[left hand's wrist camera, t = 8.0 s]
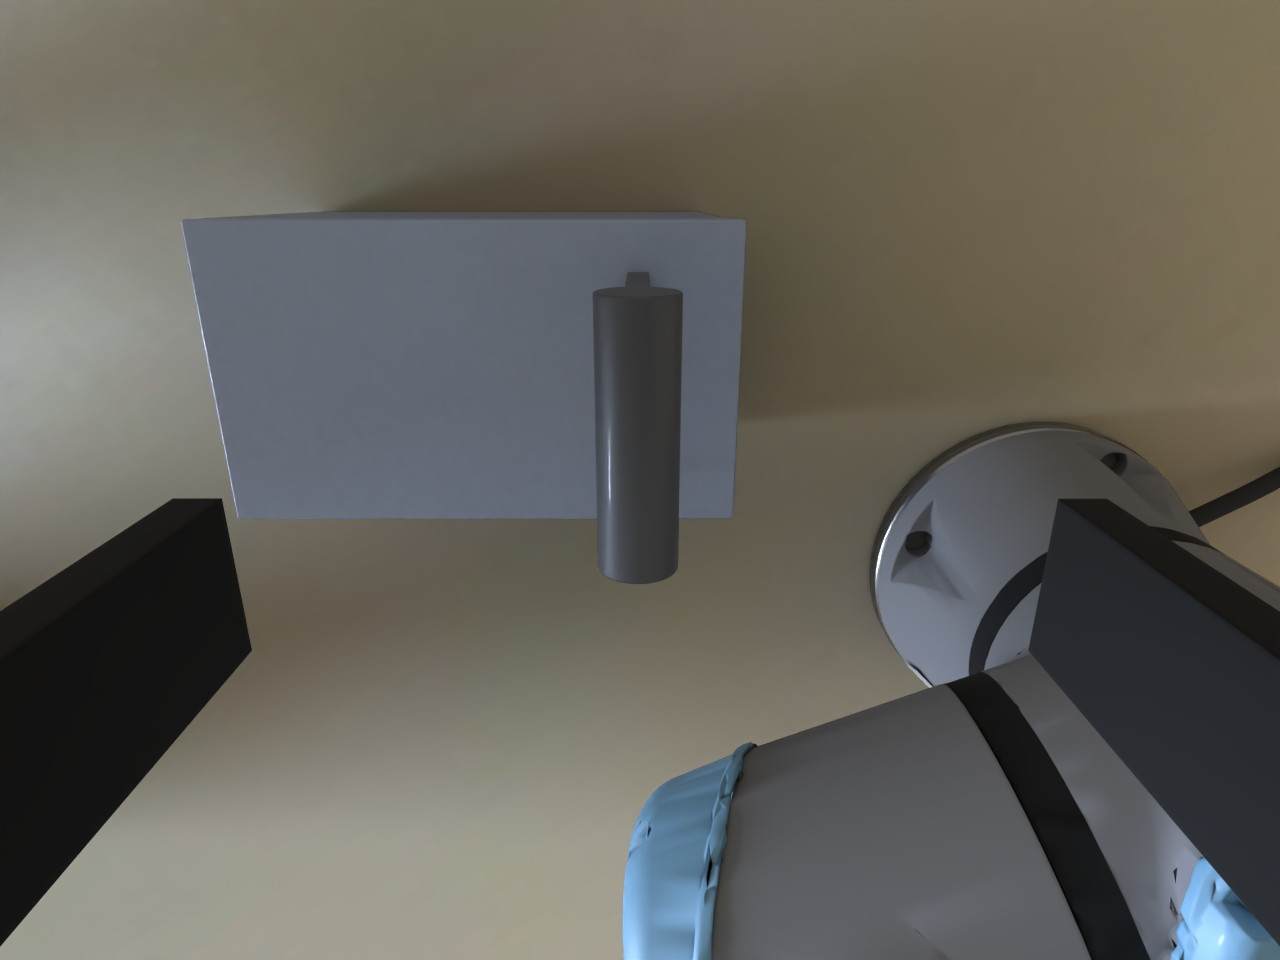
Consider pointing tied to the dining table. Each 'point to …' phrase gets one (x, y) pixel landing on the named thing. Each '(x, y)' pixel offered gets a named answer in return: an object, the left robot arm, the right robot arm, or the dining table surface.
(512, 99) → the dining table surface
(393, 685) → the dining table surface
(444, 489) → the lid
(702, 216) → the chest
